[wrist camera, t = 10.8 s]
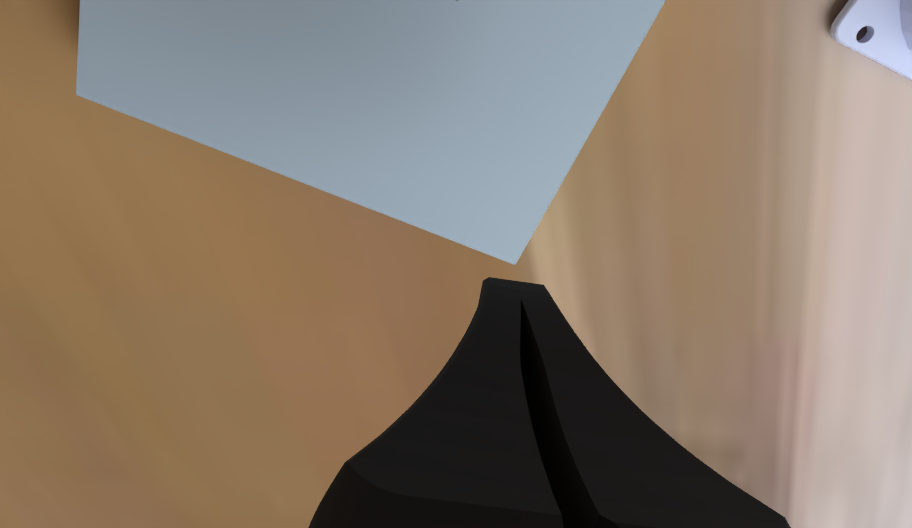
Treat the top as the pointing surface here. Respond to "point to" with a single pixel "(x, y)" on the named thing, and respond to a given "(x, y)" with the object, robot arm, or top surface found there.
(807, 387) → the top surface
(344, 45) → the socket board
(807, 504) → the top surface
